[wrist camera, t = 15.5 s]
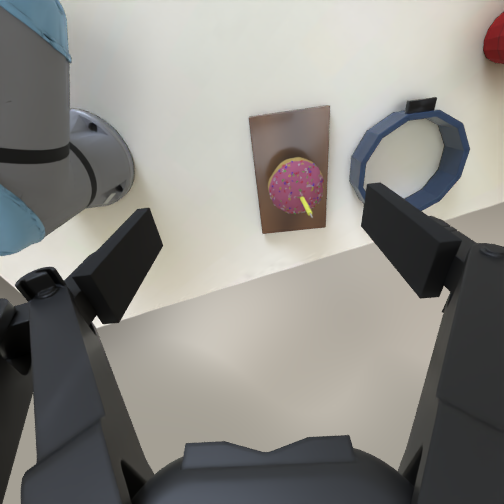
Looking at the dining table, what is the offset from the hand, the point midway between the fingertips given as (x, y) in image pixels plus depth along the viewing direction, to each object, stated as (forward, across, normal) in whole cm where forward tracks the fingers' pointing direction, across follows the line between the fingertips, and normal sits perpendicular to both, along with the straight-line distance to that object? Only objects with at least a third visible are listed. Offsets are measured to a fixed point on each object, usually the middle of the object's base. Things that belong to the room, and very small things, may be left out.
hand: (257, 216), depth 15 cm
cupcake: (+28, +6, -7) cm, 29 cm away
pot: (+29, +24, -6) cm, 38 cm away
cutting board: (+29, +6, -7) cm, 31 cm away
